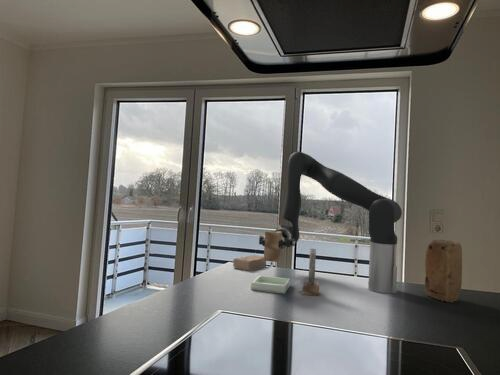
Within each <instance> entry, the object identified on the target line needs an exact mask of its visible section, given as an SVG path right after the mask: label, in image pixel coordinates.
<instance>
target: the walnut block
mask: <svg viewBox="0 0 500 375" xmlns="http://www.w3.org/2000/svg"><path fill="white" fill-rule="evenodd" d="M264 238H265V246H263V247H264V249H263V250H264V251H263V256H264V261H266V262H274V263H275V262H276V263H279V261H281V254H282V249H281V248H279V247H278V244H279V241H280V240H281V239H282V232H281V231H274V230H266V231H265V232H264Z"/></svg>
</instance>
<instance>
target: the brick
mask: <svg viewBox="0 0 500 375" xmlns="http://www.w3.org/2000/svg"><path fill="white" fill-rule="evenodd" d="M232 260H233V261H232V267H233V268H235V269H238V270H242V271H253V270H257V269H259V268H263V267H265V266H267V261H264V255H256V254H255V255H254V254H253V255H252V254H251V255H247V256H246V255H245V256H244V257H243V256H241V257H234V258H233V259H232Z"/></svg>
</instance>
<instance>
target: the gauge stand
mask: <svg viewBox="0 0 500 375" xmlns="http://www.w3.org/2000/svg"><path fill="white" fill-rule="evenodd" d="M316 254H317V249H316V248H310V249H309V261H308V262H309V265H308V281H304V283H303V284H302V295H307V296H314V297H319V294H320V282H319V283H317V282H316V281H315V280H316V279H315V277H316V260H317V259H316V256H317V255H316Z"/></svg>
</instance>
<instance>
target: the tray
mask: <svg viewBox="0 0 500 375" xmlns="http://www.w3.org/2000/svg"><path fill="white" fill-rule="evenodd" d="M250 283H251V285H250V291H257V292H258V291H259V292H265V293H266V292H267V293H274V294H275V293H276V294H282V295H285V294H286V293H287V291H288V290H289V289H290V287H291V278H288V277H287V278H285V277H277V276H270V275H269V276H268V275H258V276H257V277H255V279H254V280H253V281H252V282H250Z"/></svg>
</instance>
